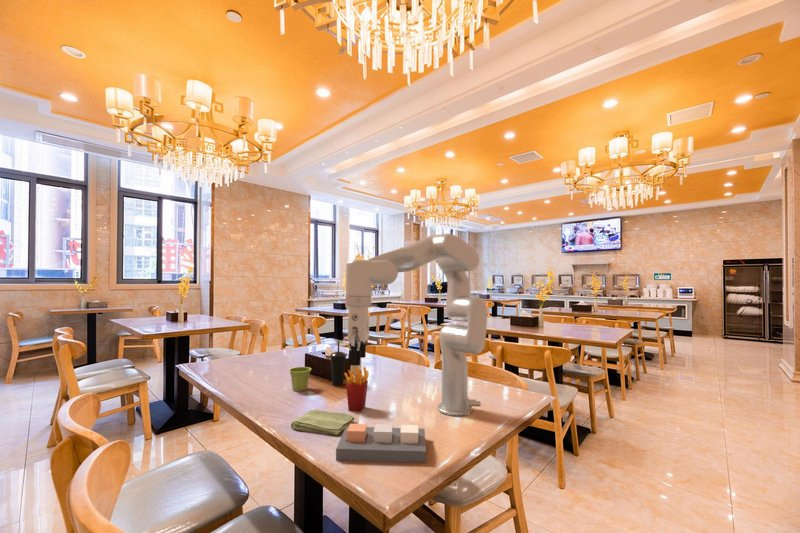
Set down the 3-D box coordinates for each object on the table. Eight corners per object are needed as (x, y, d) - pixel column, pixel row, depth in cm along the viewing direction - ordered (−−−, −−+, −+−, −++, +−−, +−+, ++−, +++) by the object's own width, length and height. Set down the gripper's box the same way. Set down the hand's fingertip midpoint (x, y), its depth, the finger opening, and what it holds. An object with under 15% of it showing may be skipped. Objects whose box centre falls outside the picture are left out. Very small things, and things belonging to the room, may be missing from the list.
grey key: (392, 435, 101) (392, 424, 101) (391, 443, 96) (391, 432, 96) (375, 435, 101) (375, 424, 101) (373, 443, 96) (373, 431, 96)
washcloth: (338, 438, 105) (338, 428, 105) (288, 431, 110) (288, 421, 110) (356, 422, 118) (356, 412, 118) (310, 415, 123) (310, 406, 123)
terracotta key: (366, 435, 101) (367, 423, 101) (364, 443, 96) (364, 431, 96) (350, 434, 101) (350, 423, 102) (346, 442, 96) (346, 430, 97)
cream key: (418, 436, 101) (418, 425, 101) (418, 444, 96) (418, 432, 96) (400, 435, 101) (401, 424, 101) (400, 444, 96) (400, 432, 96)
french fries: (362, 412, 125) (363, 371, 125) (341, 411, 126) (341, 369, 127) (369, 404, 133) (370, 365, 134) (349, 402, 135) (350, 364, 136)
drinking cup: (338, 388, 153) (339, 342, 154) (325, 385, 157) (326, 340, 158) (349, 383, 160) (350, 340, 160) (337, 381, 164) (338, 338, 164)
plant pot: (294, 385, 156) (294, 366, 157) (314, 386, 155) (314, 367, 155) (284, 392, 147) (285, 371, 147) (305, 393, 146) (306, 372, 146)
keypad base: (424, 438, 105) (424, 428, 105) (426, 462, 91) (426, 451, 91) (346, 436, 106) (346, 426, 106) (335, 460, 92) (336, 448, 92)
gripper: (366, 304, 92) (365, 369, 91) (374, 300, 109) (373, 355, 109) (339, 303, 92) (337, 368, 92) (351, 300, 110) (350, 354, 109)
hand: (357, 361), depth 100 cm, fingers open, 9 cm apart
